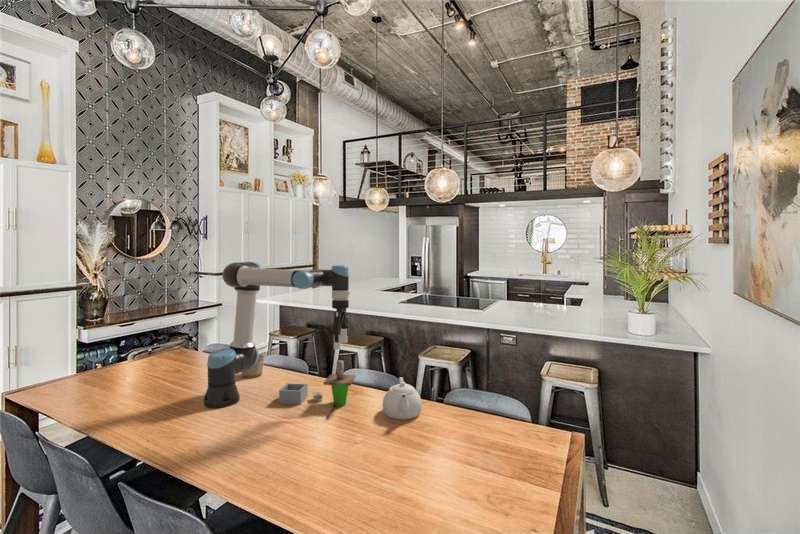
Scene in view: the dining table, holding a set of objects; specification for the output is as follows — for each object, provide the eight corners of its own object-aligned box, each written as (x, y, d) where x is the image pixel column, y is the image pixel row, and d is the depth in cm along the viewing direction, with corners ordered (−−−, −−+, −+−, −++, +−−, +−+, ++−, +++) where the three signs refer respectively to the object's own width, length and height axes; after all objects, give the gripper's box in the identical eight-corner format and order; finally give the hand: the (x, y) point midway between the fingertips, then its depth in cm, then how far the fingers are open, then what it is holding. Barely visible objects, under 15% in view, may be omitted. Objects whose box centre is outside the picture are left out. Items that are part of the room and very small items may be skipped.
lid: (323, 384, 176) (323, 364, 175) (330, 376, 188) (330, 357, 187) (350, 385, 175) (350, 365, 174) (355, 377, 187) (355, 358, 186)
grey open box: (279, 405, 180) (279, 390, 179) (287, 397, 189) (287, 383, 189) (300, 406, 179) (300, 391, 179) (307, 398, 189) (307, 383, 188)
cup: (351, 401, 186) (351, 378, 185) (347, 408, 177) (347, 384, 176) (332, 400, 186) (333, 377, 186) (327, 408, 177) (327, 383, 177)
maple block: (313, 404, 182) (313, 395, 182) (312, 401, 186) (313, 392, 186) (322, 403, 183) (322, 394, 183) (321, 400, 187) (321, 392, 187)
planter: (259, 379, 217) (259, 360, 217) (236, 378, 218) (236, 359, 217) (267, 372, 230) (267, 354, 230) (245, 371, 230) (245, 354, 230)
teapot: (432, 412, 174) (432, 381, 173) (403, 425, 160) (403, 392, 160) (400, 401, 186) (401, 372, 186) (372, 412, 173) (372, 381, 172)
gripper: (342, 302, 167) (342, 352, 168) (353, 296, 192) (353, 340, 193) (325, 302, 168) (325, 352, 168) (338, 296, 193) (338, 339, 193)
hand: (340, 345), depth 181 cm, fingers open, 13 cm apart
